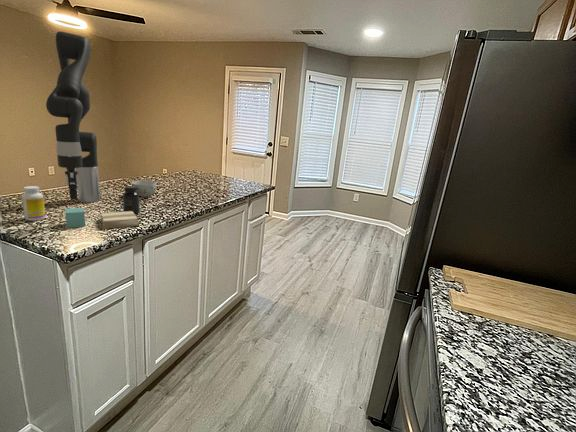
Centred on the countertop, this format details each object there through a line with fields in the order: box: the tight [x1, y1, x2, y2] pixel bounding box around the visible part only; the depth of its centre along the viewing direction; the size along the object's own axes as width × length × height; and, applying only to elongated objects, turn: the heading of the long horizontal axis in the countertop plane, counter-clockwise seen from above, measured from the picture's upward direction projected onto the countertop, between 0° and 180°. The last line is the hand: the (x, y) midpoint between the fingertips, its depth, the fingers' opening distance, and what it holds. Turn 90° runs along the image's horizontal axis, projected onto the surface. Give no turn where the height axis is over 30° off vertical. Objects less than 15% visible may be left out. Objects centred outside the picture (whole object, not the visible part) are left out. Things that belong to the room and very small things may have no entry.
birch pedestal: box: [100, 211, 139, 229], centre depth 129 cm, size 12×12×3 cm
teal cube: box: [64, 207, 86, 229], centre depth 122 cm, size 6×6×6 cm
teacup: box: [131, 179, 157, 198], centre depth 172 cm, size 15×12×8 cm
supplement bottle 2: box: [122, 185, 141, 215], centre depth 143 cm, size 7×7×12 cm
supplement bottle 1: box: [21, 185, 47, 222], centre depth 122 cm, size 7×7×13 cm
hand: (73, 196), depth 119 cm, fingers open, 8 cm apart
